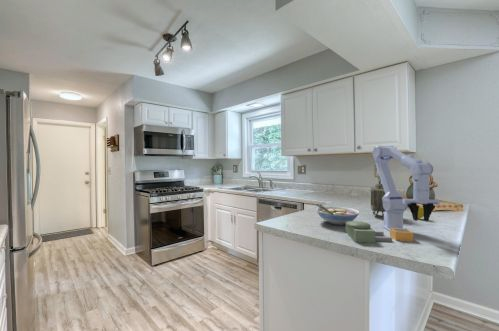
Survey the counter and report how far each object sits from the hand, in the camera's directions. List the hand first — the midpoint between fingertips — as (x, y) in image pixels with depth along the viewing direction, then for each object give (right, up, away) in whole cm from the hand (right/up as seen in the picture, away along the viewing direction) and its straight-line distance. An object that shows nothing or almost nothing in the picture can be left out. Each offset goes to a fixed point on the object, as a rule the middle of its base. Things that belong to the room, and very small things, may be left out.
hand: (420, 220), depth 107 cm
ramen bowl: (-27, -8, +27) cm, 39 cm away
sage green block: (-23, -8, +3) cm, 24 cm away
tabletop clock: (+6, -8, +45) cm, 46 cm away
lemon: (+25, -8, +38) cm, 46 cm away
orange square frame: (-8, -9, +1) cm, 12 cm away
